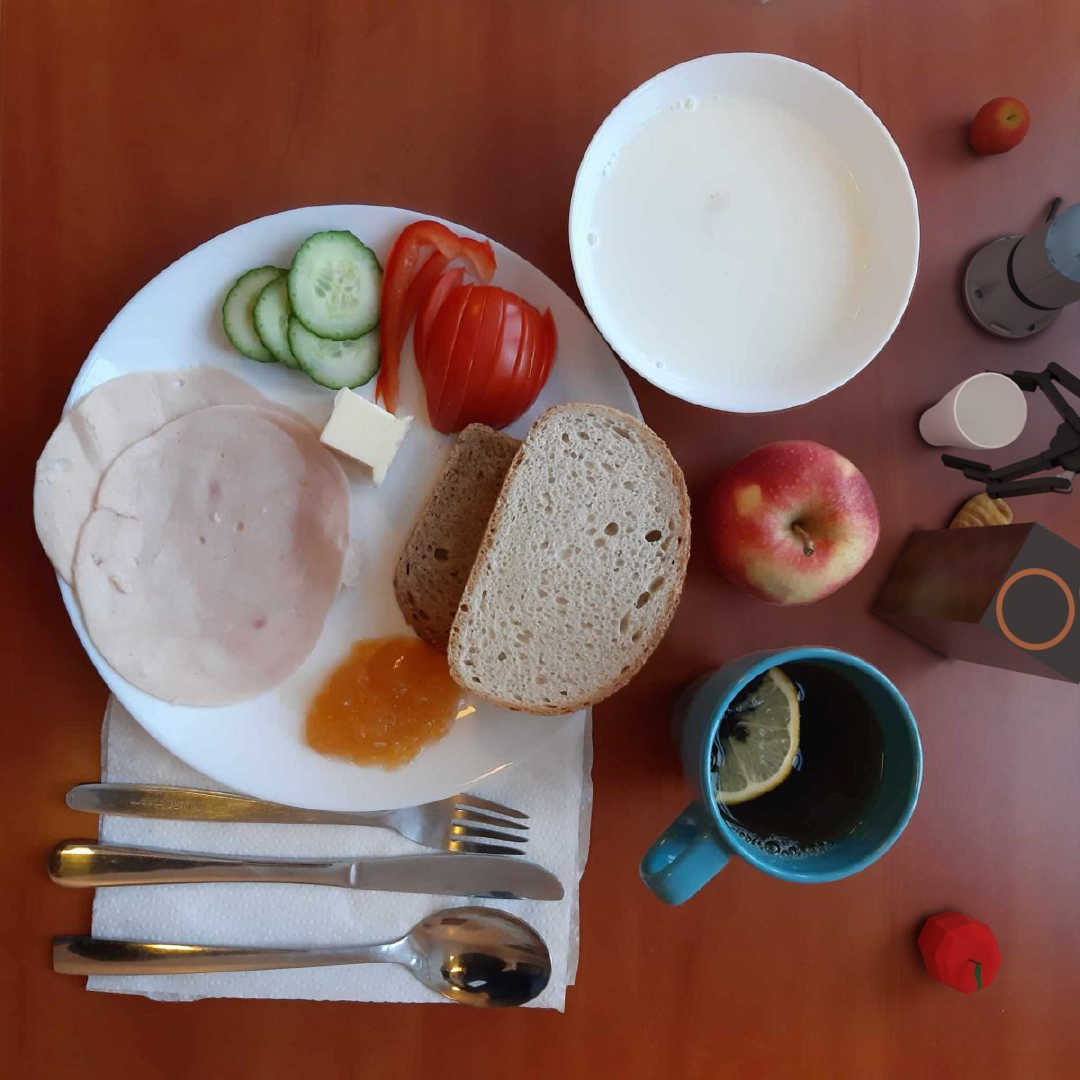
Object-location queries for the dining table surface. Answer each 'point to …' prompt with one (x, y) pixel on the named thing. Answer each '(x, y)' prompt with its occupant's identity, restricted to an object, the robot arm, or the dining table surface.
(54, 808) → the dining table surface
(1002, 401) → the cup
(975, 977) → the apple
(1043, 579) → the hob plate
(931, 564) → the stove stand
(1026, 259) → the robot arm
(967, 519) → the pastry
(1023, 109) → the apple
